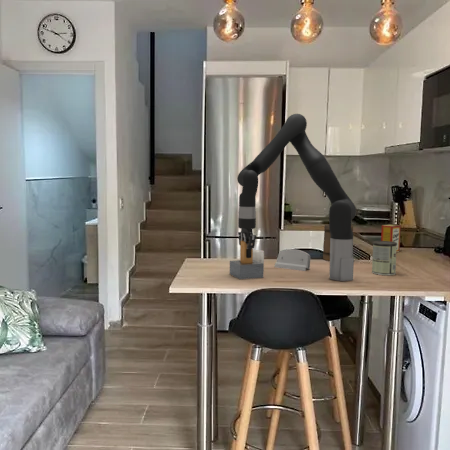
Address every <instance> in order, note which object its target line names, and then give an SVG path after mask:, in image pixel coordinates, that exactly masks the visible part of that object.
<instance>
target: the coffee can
mask: <svg viewBox="0 0 450 450" xmlns="http://www.w3.org/2000/svg"><path fill="white" fill-rule="evenodd" d="M396 248H397V243H396V242H391V241H381V240H375V241H372V259H371V260H372V261H371V262H372V264H371V265H372V267H371V268H372V269H371V273H372V274H373V273H374V274H373V275H377V274H378V275H379V276H395V275H397V274H396V273H397V271H396V270H397V252H396Z"/></svg>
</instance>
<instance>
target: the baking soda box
mask: <svg viewBox="0 0 450 450" xmlns="http://www.w3.org/2000/svg"><path fill="white" fill-rule="evenodd" d="M380 241H391V242H396V243H397V248H396V251H400V252H401V250H400V249H401V248H400V247H401V225H399V224H382V225H381V238H380Z"/></svg>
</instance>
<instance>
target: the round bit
mask: <svg viewBox="0 0 450 450" xmlns="http://www.w3.org/2000/svg"><path fill="white" fill-rule="evenodd" d="M253 260H255V261H258V262H261V263H263V264H264V265H265V263H264V262H265V251H264V250H261V249H253Z"/></svg>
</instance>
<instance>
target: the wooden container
mask: <svg viewBox="0 0 450 450" xmlns="http://www.w3.org/2000/svg"><path fill="white" fill-rule="evenodd" d="M323 229H324V230H323V231H324V232H323V244H322V245H323V246H322V247H323V249H322V259H323V260H324V261H327V262H330V240H331V234H330V230H329V223H328V224H324V228H323ZM351 229H352V232H353V231H354V225H352V224H351ZM353 233H354V232H353Z"/></svg>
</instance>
